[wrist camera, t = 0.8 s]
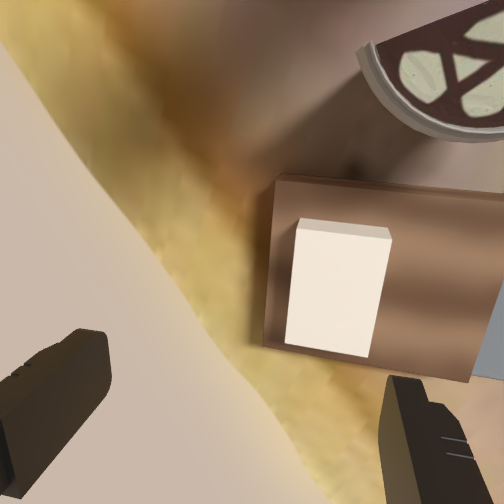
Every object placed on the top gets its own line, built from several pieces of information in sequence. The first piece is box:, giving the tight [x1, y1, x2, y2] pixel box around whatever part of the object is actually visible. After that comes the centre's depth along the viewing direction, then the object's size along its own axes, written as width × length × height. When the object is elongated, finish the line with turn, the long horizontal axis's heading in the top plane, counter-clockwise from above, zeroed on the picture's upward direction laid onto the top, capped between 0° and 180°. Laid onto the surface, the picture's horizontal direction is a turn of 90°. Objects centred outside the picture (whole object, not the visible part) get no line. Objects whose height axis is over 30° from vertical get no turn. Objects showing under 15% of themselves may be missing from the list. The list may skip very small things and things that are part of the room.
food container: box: [356, 0, 504, 143], centre depth 20 cm, size 12×6×10 cm, turn 109°
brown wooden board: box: [263, 173, 504, 383], centre depth 29 cm, size 14×16×3 cm
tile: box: [285, 218, 392, 358], centre depth 27 cm, size 9×6×2 cm, turn 177°
